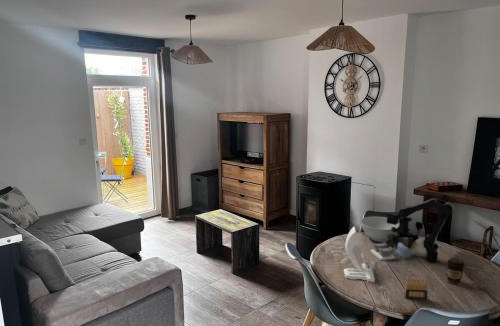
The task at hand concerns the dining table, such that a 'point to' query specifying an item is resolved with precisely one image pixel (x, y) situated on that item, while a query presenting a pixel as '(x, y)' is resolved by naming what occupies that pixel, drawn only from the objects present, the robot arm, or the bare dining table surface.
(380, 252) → the white grey bracket mount
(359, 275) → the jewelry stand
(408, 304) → the dining table surface
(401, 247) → the blue tapered block
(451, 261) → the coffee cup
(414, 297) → the ammunition clip
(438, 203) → the robot arm
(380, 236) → the decorative bowl
